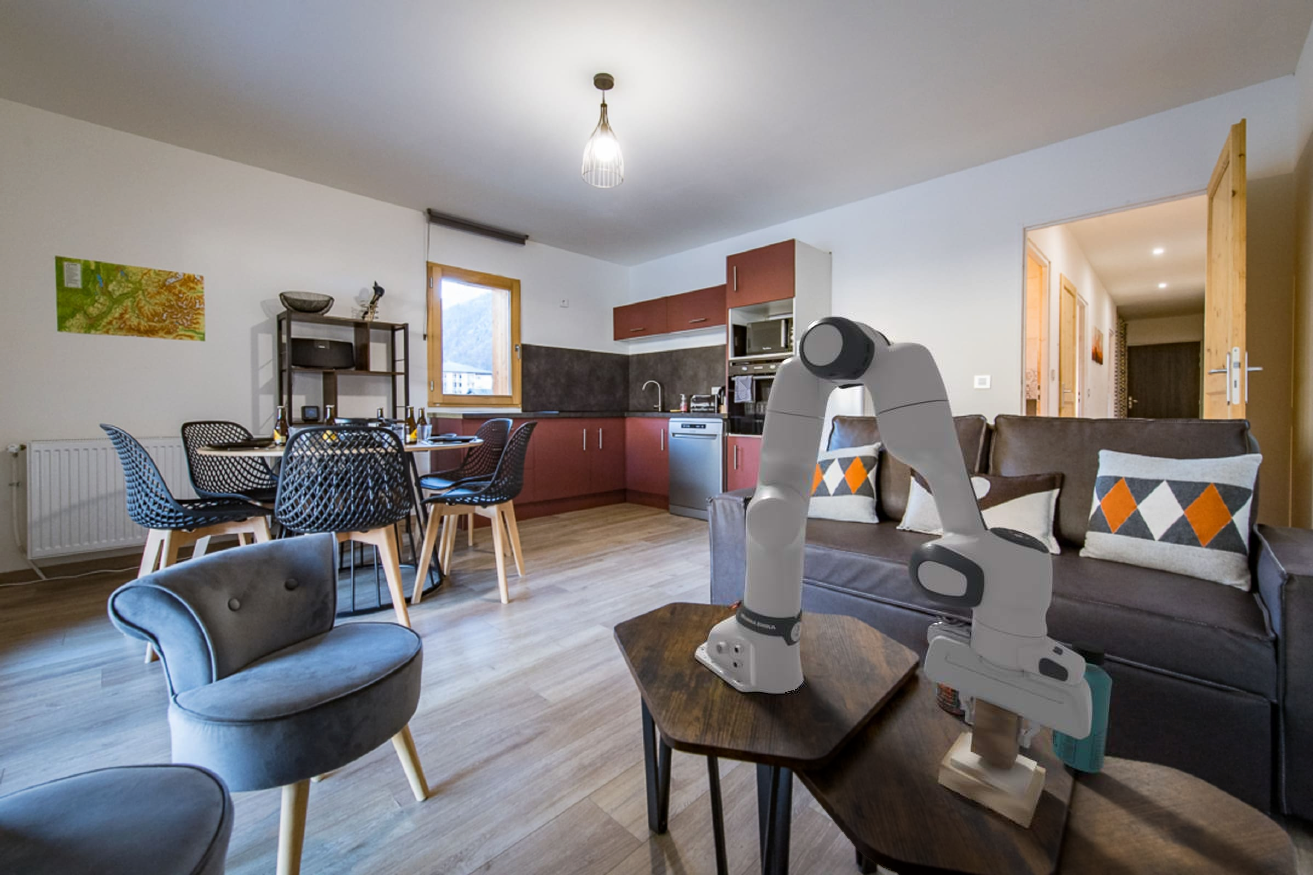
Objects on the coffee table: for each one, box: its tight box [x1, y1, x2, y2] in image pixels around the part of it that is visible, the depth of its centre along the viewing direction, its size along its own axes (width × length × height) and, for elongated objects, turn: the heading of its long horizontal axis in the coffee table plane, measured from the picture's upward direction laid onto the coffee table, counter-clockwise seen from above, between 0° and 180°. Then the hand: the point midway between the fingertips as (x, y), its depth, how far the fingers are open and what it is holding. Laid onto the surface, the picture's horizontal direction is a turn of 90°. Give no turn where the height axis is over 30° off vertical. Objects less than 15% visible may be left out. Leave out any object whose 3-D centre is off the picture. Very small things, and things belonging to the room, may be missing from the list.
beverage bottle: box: [1050, 640, 1113, 774], centre depth 80 cm, size 6×7×20 cm
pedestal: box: [938, 731, 1047, 828], centre depth 76 cm, size 11×11×4 cm
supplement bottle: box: [935, 682, 975, 716], centre depth 95 cm, size 6×6×11 cm
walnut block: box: [970, 698, 1024, 770], centre depth 75 cm, size 5×5×8 cm
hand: (996, 732), depth 75 cm, fingers closed on walnut block, 5 cm apart
